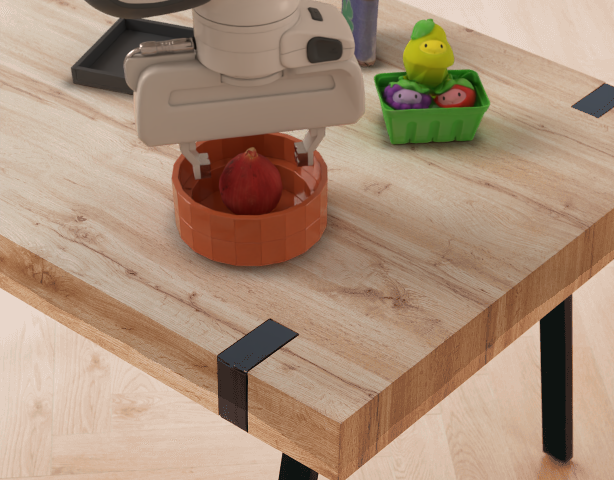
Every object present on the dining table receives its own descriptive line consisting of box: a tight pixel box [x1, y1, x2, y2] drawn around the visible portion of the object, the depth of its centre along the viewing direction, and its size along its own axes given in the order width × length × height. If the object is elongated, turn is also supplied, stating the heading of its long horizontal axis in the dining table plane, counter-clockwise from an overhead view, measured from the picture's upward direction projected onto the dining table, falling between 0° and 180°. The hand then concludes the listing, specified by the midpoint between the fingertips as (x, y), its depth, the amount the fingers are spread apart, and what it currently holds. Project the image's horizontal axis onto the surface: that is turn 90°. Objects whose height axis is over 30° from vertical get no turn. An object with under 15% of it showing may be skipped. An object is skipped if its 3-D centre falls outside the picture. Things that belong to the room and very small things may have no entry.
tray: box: [70, 18, 194, 96], centre depth 123 cm, size 15×13×2 cm
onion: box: [219, 147, 283, 215], centre depth 100 cm, size 6×6×8 cm
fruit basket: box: [373, 18, 491, 145], centre depth 113 cm, size 11×9×11 cm
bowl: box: [170, 132, 329, 267], centre depth 101 cm, size 14×14×6 cm
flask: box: [340, 0, 380, 68], centre depth 126 cm, size 9×3×11 cm, turn 17°
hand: (253, 169), depth 99 cm, fingers open, 8 cm apart
